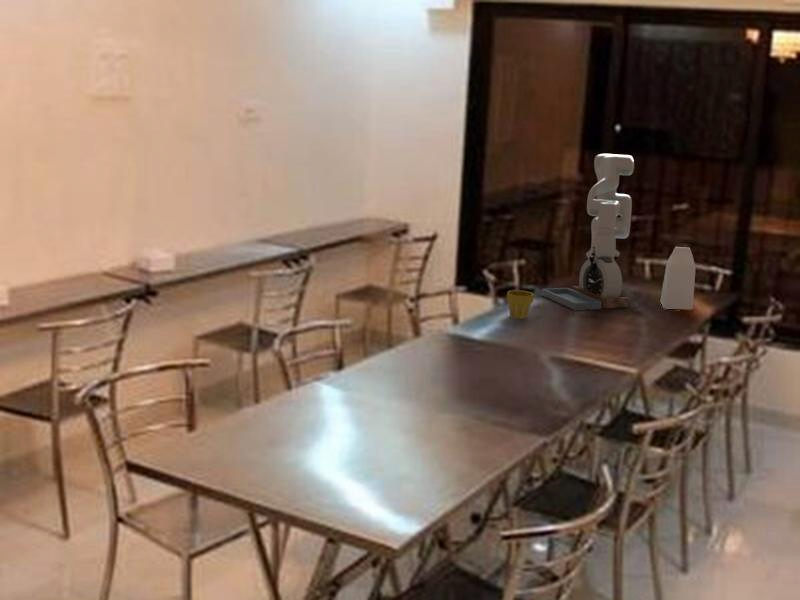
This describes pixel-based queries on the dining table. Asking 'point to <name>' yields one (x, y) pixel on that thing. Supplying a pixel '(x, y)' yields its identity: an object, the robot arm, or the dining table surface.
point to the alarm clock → (602, 278)
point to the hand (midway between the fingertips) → (601, 271)
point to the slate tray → (572, 298)
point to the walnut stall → (604, 299)
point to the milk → (679, 280)
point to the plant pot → (519, 303)
